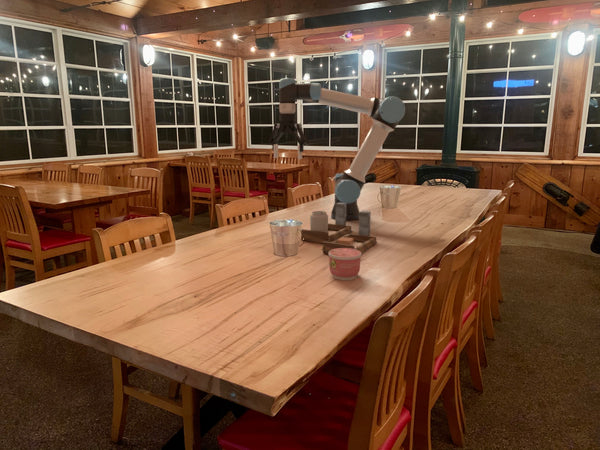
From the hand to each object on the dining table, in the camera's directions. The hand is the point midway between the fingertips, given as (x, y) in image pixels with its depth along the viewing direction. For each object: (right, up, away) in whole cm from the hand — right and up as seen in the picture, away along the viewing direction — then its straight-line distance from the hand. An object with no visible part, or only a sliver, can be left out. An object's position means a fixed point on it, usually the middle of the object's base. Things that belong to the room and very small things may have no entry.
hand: (287, 158), depth 211 cm
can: (+14, -38, -25) cm, 48 cm away
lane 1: (+19, -36, -17) cm, 44 cm away
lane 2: (+27, -41, -36) cm, 61 cm away
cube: (+23, -42, -42) cm, 64 cm away
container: (+20, -49, -69) cm, 87 cm away
